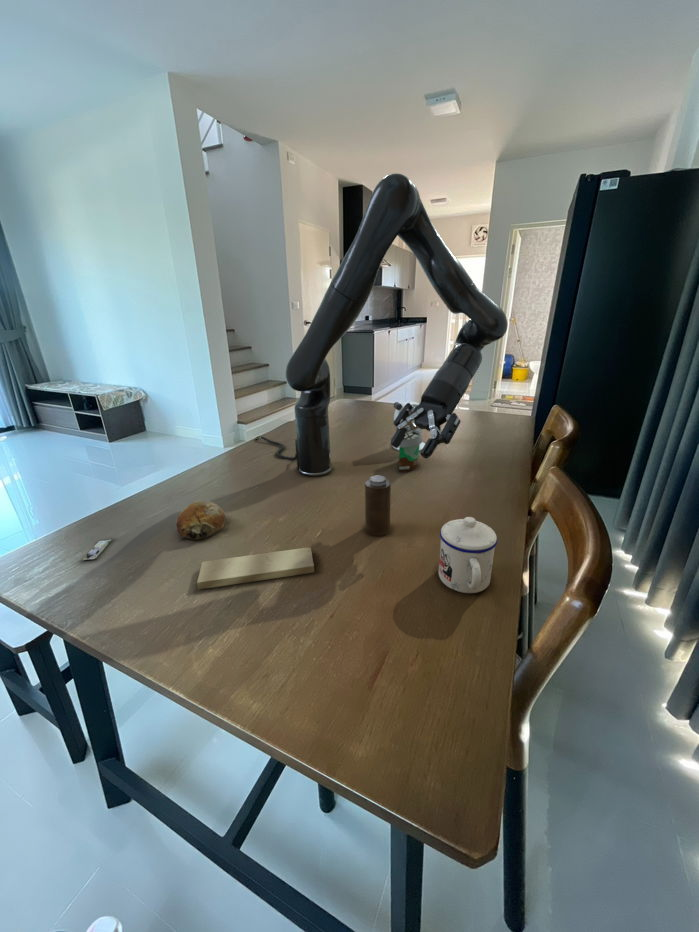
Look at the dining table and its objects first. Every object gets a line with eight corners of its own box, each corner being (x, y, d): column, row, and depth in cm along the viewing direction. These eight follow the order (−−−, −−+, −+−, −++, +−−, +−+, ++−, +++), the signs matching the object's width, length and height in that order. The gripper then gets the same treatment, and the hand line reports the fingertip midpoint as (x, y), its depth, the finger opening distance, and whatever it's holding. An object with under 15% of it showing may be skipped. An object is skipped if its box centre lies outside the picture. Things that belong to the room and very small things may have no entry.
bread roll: (232, 538, 87) (237, 503, 87) (202, 544, 77) (207, 504, 77) (197, 531, 90) (201, 497, 90) (163, 536, 80) (168, 498, 80)
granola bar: (100, 542, 80) (99, 538, 80) (112, 541, 80) (110, 537, 80) (83, 562, 74) (81, 557, 74) (95, 561, 74) (93, 556, 74)
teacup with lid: (433, 560, 71) (437, 505, 66) (483, 561, 70) (490, 506, 66) (444, 607, 60) (449, 545, 55) (503, 609, 59) (513, 546, 55)
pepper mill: (360, 530, 81) (359, 479, 77) (375, 520, 85) (375, 471, 80) (380, 539, 78) (380, 486, 74) (394, 528, 82) (395, 477, 77)
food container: (420, 474, 107) (422, 441, 103) (398, 473, 108) (399, 440, 105) (421, 459, 118) (423, 428, 115) (401, 458, 120) (402, 427, 116)
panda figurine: (421, 439, 136) (423, 397, 130) (433, 449, 126) (435, 405, 120) (388, 442, 134) (389, 399, 129) (398, 452, 124) (399, 407, 118)
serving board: (198, 589, 65) (196, 582, 65) (203, 568, 71) (202, 561, 70) (314, 572, 69) (313, 565, 68) (311, 553, 74) (310, 546, 74)
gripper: (414, 374, 85) (375, 434, 83) (468, 382, 75) (426, 450, 73) (428, 394, 90) (393, 451, 88) (481, 404, 80) (442, 469, 78)
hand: (408, 451), depth 80 cm, fingers open, 8 cm apart
